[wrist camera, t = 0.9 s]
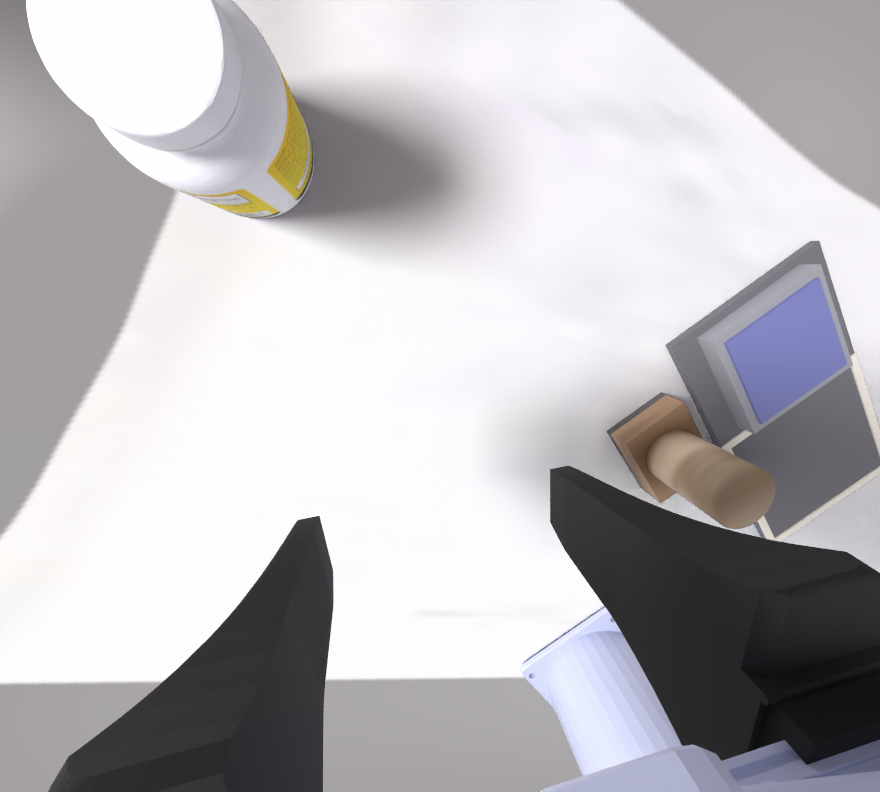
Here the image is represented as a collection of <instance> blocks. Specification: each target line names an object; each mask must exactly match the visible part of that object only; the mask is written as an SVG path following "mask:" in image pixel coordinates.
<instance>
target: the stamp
mask: <svg viewBox="0 0 880 792" xmlns="http://www.w3.org/2000/svg"><path fill="white" fill-rule="evenodd" d="M607 433H608V434H609V436H610V438H611V439H612V441H613V443H614V444H615V446H616V447H617V449H618V451H619V452H620V454H621V456H622V457H623V459H624V461H625V462H626V464H627V466H628V467H629V469H630V471H631V472H632V474H633V476H634V477H635V479H636V480H637V482H638V484H639V485H640V487H641V488H642V489H643V490H645V491H646V492H647V493H648V494H650V495H651V496H652V497H653V498H655V499H656V500H657V501H658V502H660V503H662V502H663V501H665V500H666V499H668V498H669V497H670V496H672V495H673V494H675V493H676V492H677V493H678V494H680V495H681V496H683V497H684V498H685V499H687V500H688V501H689V502H691V503H692V504H694V505H695V506H696V507H698V508H699V509H701V510H702V511H703V512H705V513H706V514H707V515H709V516H710V517H712V518H713V519H714V520H716V521H717V522H719V523H720V524H721V525H723V526H724V527H727V528H730V529H740V528H744V527H747V526H749V525H751V524H753V523H755V522H756V521H758V520H759V519H760V518H761V517H762V516H763V515H764V514H765V513H766V512H767V511H768V509H769V508H770V506H771V504H772V502H773V500H774V497H775V491H776V486H775V482H774V479H773V477H772V476H771V475H770V474H769V473H768V472H767V471H765V470H763V469H761V468H759V467H757V466H755V465H753V464H751V463H749V462H747V461H745V460H743V459H741V458H739V457H737V456H735V455H733V454H731V453H730V452H728V451H726V450H724V449H722V448H720V447H718V446H716V445H714V444H712V443H710V442H708V441H706V440H704V439H703V438H702V436H701V435H700V433H699V431H698V429H697V427H696V425H695V423H694V421H693V419H692V417H691V415H690V413H689V411H688V409H687V407H686V405H685V403H684V402H682V401H680V400H678V399H675V398H673V397H670V396H668V395H666V394H663V393H660V394H658V395H657V396H656V397H654V398H653V399H651V400H650V401H648V402H647V403H646V404H644V405H643V406H641V407H640V408H639V409H637V410H636V411H634V412H633V413H632V414H630V415H629V416H627V417H626V418H625V419H623V420H622V421H620V422H619V423H618V424H616V425H615V426H613V427H612V428H611V429H609V430H608V431H607Z"/></svg>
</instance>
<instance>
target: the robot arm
mask: <svg viewBox="0 0 880 792" xmlns="http://www.w3.org/2000/svg"><path fill="white" fill-rule="evenodd" d="M550 522H551V524H552V526H553V528H554V530H555V532H556V534H557V536H558V538H559V540H560V542H561V543H562V545H563V547H564V549H565V551H566V552H567V554H568V555H569V556H570V558H571V559H572V561H573V562H574V564H575V565H576V566H577V568H578V569H579V571H580V572H581V574H582V575H583V576H584V578H585V579H586V581H587V582H588V583H589V585H590V586H591V588H592V589H593V590H594V592H595V593H596V595H597V596H598V597H599V599H600V600H601V602H602V603H603V604H604V606H605V607H604V608H603V609H601V610H600V611H598V612H597V613H596V614H594V615H593V616H591V617H590V618H588V619H587V620H585V621H584V622H583V623H581V624H580V625H578V626H577V627H575V628H574V629H572V630H571V631H570V632H568V633H567V634H565V635H564V636H562V637H561V638H559V639H558V640H557V641H555V642H554V643H552V644H551V645H549V646H548V647H546V648H545V649H544V650H542V651H541V652H539V653H538V654H536V655H535V656H533V657H532V658H531V659H529V660H528V661H526V662H525V663H523V664H522V666H521V669H520V670H521V672H522V674H523V676H524V677H525V678H526V679H527V680H528V681H529V682H530V683H531V684H532V685H533V686H534V687H535V688H536V690H537V691H538V692H539V693H540V694H541V695H542V696H543V697H544V698H545V699H546V700H547V701H548V702H549V703H550V705H551V706H552V707H553V708H554V709H555V711H556V713H557V716H558V718H559V721H560V723H561V725H562V728H563V730H564V732H565V735H566V737H567V739H568V742H569V744H570V747H571V749H572V751H573V754H574V756H575V758H576V761H577V763H578V766H579V768H580V770H581V773H582V775H583V776H582V777H578V778H575V779H572V780H569V781H566V782H563V783H560V784H557V785H553V786H550V787H547V788H545V789H543V790H541V791H539V792H880V573H879V572H877V571H876V570H874V569H873V568H871V567H869V566H868V565H866V564H865V563H863V562H862V561H860V560H859V559H857V558H855V557H854V556H852V555H851V554H849V553H847V552H843V551H836V550H829V549H822V548H816V547H809V546H802V545H795V544H790V543H784V542H779V541H774V540H769V539H764V538H760V537H755V536H751V535H747V534H742V533H738V532H735V531H731V530H727V529H723V528H720V527H716V526H712V525H709V524H706V523H702V522H699V521H696V520H693V519H690V518H687V517H684V516H681V515H678V514H676V513H673V512H670V511H667V510H665V509H662V508H660V507H657V506H655V505H653V504H650V503H648V502H645V501H643V500H641V499H638V498H636V497H634V496H632V495H629V494H627V493H625V492H623V491H621V490H619V489H617V488H614V487H612V486H610V485H608V484H606V483H604V482H602V481H600V480H598V479H596V478H594V477H592V476H590V475H588V474H586V473H584V472H581V471H579V470H577V469H575V468H573V467H570V466H565V467H560V468H555V469H550ZM332 612H333V569H332V565H331V561H330V557H329V553H328V549H327V545H326V541H325V537H324V533H323V529H322V525H321V521H320V517H319V516H317V517H312V518H307V519H302V520H298V521H297V522H296V523H295V525H294V526H293V528H292V530H291V531H290V533H289V534H288V536H287V538H286V539H285V541H284V542H283V544H282V545H281V547H280V548H279V550H278V552H277V553H276V555H275V556H274V558H273V559H272V560H271V562H270V563H269V565H268V566H267V568H266V569H265V571H264V572H263V574H262V575H261V576H260V578H259V579H258V580H257V582H256V583H255V584H254V586H253V587H252V588H251V590H250V591H249V592H248V594H247V595H246V596H245V597H244V599H243V600H242V601H241V603H240V604H239V605H238V606H237V607H236V609H235V610H234V611H233V612H232V613H231V615H230V616H229V617H228V618H227V619H226V620H225V621H224V622H223V624H222V625H221V626H220V627H219V628H218V629H217V630H216V631H215V632H214V633H213V634H212V636H211V637H210V638H209V639H208V640H207V641H206V642H205V643H204V644H202V645H201V646H200V647H199V648H198V649H197V650H196V651H195V652H194V653H193V654H192V655H191V656H190V657H189V658H188V659H187V660H186V661H185V662H184V663H183V664H182V665H181V666H180V667H179V668H178V669H177V670H176V671H175V672H174V673H172V674H171V675H170V676H169V677H168V678H167V679H166V680H165V681H163V682H162V683H161V684H160V685H159V686H158V687H157V688H156V689H154V690H153V691H152V692H151V693H150V694H148V695H147V696H146V697H145V698H144V699H143V700H141V701H140V702H139V703H138V704H137V705H135V706H134V707H133V708H132V709H130V710H129V711H128V712H127V713H126V714H124V715H123V716H122V717H121V718H119V719H118V720H117V721H115V722H114V723H113V724H111V725H110V726H109V727H107V728H106V729H105V730H104V731H102V732H101V733H100V734H99V735H97V736H96V737H94V738H93V739H92V740H91V741H89V742H88V743H87V744H85V745H84V746H83V747H81V748H80V749H79V750H77V751H76V752H74V753H73V754H72V755H70V756H69V757H68V759H67V760H66V762H65V764H64V765H63V767H62V769H61V771H60V772H59V774H58V775H57V777H56V779H55V781H54V782H53V784H52V785H51V787H50V789H49V791H48V792H323V707H324V689H325V678H326V668H327V659H328V650H329V641H330V632H331V622H332Z"/></svg>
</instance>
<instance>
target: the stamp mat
mask: <svg viewBox="0 0 880 792" xmlns="http://www.w3.org/2000/svg"><path fill="white" fill-rule="evenodd" d="M666 347H667V349H668V351H669V353H670V355H671V357H672V359H673V361H674V363H675V365H676V367H677V369H678V371H679V373H680V375H681V377H682V379H683V381H684V383H685V385H686V387H687V389H688V391H689V393H690V395H691V397H692V399H693V401H694V403H695V405H696V407H697V409H698V411H699V413H700V415H701V417H702V419H703V421H704V423H705V425H706V427H707V429H708V431H709V433H710V435H711V437H712V439H713V441H714V443H715V445H716V446H718V447H720V448H722V449H724V450H726V451H728V452H730V453H731V454H733V455H735V456H737V457H739V458H741V459H743V460H745V461H747V462H749V463H751V464H753V465H755V466H757V467H759V468H761V469H763V470H765V471H767V472H768V473H769V474H770V475H771V476H772V477H773V479H774V482H775V486H776V491H775V497H774V500H773V502H772V504H771V506H770V508H769V509H768V511H767V512H766V513H765V514H764V515H763V516H762V517H761V518H760V519H759V520H758V521H756V522H755V523H754V524H755V526H756V528H757V530H758V532H759V534H760V536H761V538H764V539H769V540H774V541H779V542H781V541H782V540H784V539H785V538H787V537H788V536H790V535H791V534H793V533H794V532H796V531H797V530H799V529H800V528H801V527H803V526H804V525H806V524H807V523H809V522H810V521H812V520H813V519H815V518H816V517H818V516H819V515H820V514H822V513H823V512H825V511H826V510H828V509H829V508H831V507H832V506H834V505H835V504H836V503H838V502H839V501H841V500H842V499H844V498H845V497H847V496H848V495H850V494H851V493H853V492H854V491H855V490H857V489H858V488H860V487H861V486H863V485H864V484H866V483H867V482H869V481H870V480H872V479H873V478H874V477H876V476H877V475H879V474H880V428H879V424H878V421H877V418H876V415H875V412H874V409H873V405H872V402H871V399H870V396H869V393H868V389H867V386H866V383H865V380H864V377H863V373H862V370H861V367H860V364H859V361H858V357H857V354H856V353H854V350H853V347H852V344H851V341H850V337H849V334H848V331H847V328H846V325H845V322H844V318H843V315H842V312H841V309H840V306H839V302H838V299H837V296H836V293H835V290H834V287H833V283H832V280H831V277H830V274H829V271H828V268H827V264H826V261H825V258H824V255H823V252H822V249H821V245H820V242H819V241H810V242H809V243H807V244H806V245H804V246H803V247H802V248H800V249H799V250H797V251H796V252H795V253H793V254H792V255H791V256H789V257H788V258H786V259H785V260H784V261H782V262H781V263H779V264H778V265H777V266H775V267H774V268H772V269H771V270H770V271H768V272H767V273H765V274H764V275H763V276H761V277H760V278H759V279H757V280H756V281H754V282H753V283H752V284H750V285H749V286H747V287H746V288H745V289H743V290H742V291H740V292H739V293H738V294H736V295H735V296H733V297H732V298H731V299H729V300H728V301H727V302H725V303H724V304H722V305H721V306H720V307H718V308H717V309H715V310H714V311H713V312H711V313H710V314H708V315H707V316H706V317H704V318H703V319H702V320H700V321H699V322H697V323H696V324H695V325H693V326H692V327H690V328H689V329H688V330H686V331H685V332H683V333H682V334H681V335H679V336H678V337H676V338H675V339H674V340H672V341H671V342H670V343H668V344H667V345H666Z"/></svg>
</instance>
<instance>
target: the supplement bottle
mask: <svg viewBox="0 0 880 792" xmlns="http://www.w3.org/2000/svg"><path fill="white" fill-rule="evenodd" d="M26 7H27V15H28V21H29V27H30V30H31V34H32V37H33V40H34V43H35V45H36V48H37V50H38V53H39V55H40V56H41V59H42V61H43V63H44V64H45V67H46V68H47V70H48V71H49V73H50V74H51V76H52V77H53V79H54V81H55V82H56V83H57V84H58V85H59V87H60V88H61V89H62V90H63V91H64V93H65V94H66V95H67V96H68V97H69V98H70V99H71V100H72V101H73V102H74V103H75V104H76V105H77V106H79V107H80V108H81V109H82V110H84V111H85V112H86V113H87V114H88V115H90V116H91V117H93V118H94V120H95V122H96V123H97V125H98V126H99V128H100V129H101V131H102V132H103V134H104V135H105V136H106V138H107V139H108V140H109V141H110V143H111V144H112V145H113V146H114V147H115V148H116V149H117V150H118V151H119V152H120V153H121V154H122V155H123V156H124V157H125V158H126V159H127V160H128V161H129V162H130V163H131V164H133V165H134V166H135V167H137V168H138V169H139V170H141V171H142V172H143V173H145V174H147V175H148V176H150V177H152V178H153V179H155V180H157V181H159V182H161V183H163V184H165V185H167V186H169V187H171V188H173V189H176V190H178V191H181V192H183V193H185V194H188V195H190V196H193V197H195V198H198V199H200V200H202V201H205V202H207V203H210V204H212V205H214V206H217V207H219V208H221V209H224V210H226V211H229V212H231V213H233V214H236V215H240V216H243V217H249V218H270V217H275V216H278V215H281V214H283V213H285V212H287V211H289V210H290V209H292V208H293V207H294V206H295V205H296V204H297V203H299V201H300V200H301V199H302V198H303V197H304V195H305V193H306V192H307V190H308V188H309V186H310V183H311V180H312V177H313V172H314V149H313V144H312V139H311V136H310V133H309V130H308V128H307V125H306V123H305V121H304V119H303V116H302V114H301V113H300V111H299V108H298V106H297V104H296V102H295V100H294V98H293V95H292V93H291V91H290V89H289V87H288V85H287V82H286V80H285V78H284V76H283V74H282V72H281V70H280V68H279V65H278V63H277V61H276V59H275V57H274V55H273V53H272V52H271V50H270V48H269V46H268V44H267V43H266V41H265V39H264V38H263V36H262V35H261V33H260V32H259V30H258V29H257V27H256V26H255V25H254V24H253V22H252V21H251V20H250V19H249V17H248V16H247V15H246V14H245V13H244V12H243V11H242V10H241V8H240V7H239V6H238V5H237V4H236V3H234V2H233V1H232V0H26Z"/></svg>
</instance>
